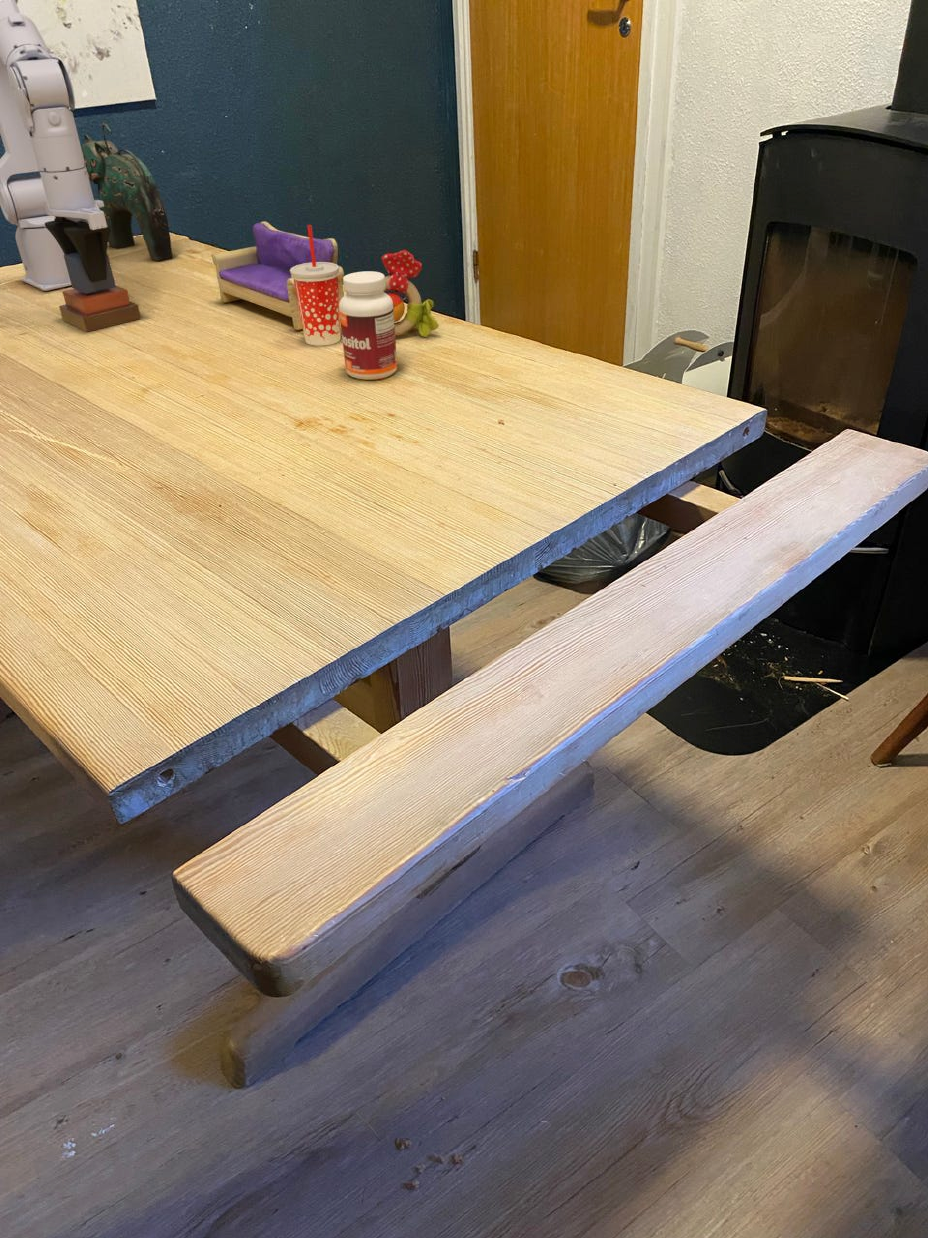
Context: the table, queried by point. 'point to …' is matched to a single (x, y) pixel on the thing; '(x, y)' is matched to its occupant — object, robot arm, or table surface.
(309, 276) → the beverage cup
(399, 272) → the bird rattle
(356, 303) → the pill bottle
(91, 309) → the stack
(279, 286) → the toy sofa
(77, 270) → the cube
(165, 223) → the green animal figurine
